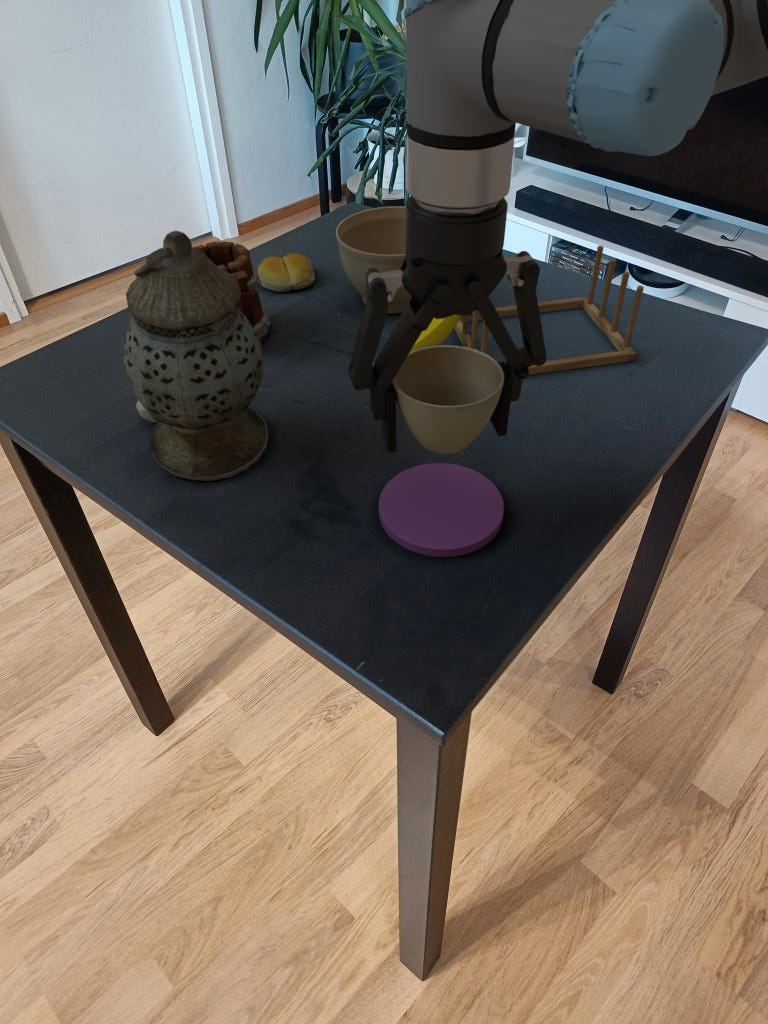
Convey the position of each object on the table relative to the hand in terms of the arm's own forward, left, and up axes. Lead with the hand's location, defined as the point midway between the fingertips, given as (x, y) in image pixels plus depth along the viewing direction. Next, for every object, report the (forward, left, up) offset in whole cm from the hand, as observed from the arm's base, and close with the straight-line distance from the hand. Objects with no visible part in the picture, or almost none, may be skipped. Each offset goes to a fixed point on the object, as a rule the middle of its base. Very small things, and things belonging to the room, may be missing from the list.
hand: (444, 435), depth 68 cm
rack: (+30, -22, -10) cm, 38 cm away
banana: (+29, -7, -9) cm, 31 cm away
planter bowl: (+46, -5, -10) cm, 47 cm away
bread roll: (+56, +10, -10) cm, 58 cm away
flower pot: (0, 0, 0) cm, 0 cm away
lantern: (+17, +24, -10) cm, 31 cm away
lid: (0, 0, -10) cm, 10 cm away
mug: (+40, +19, -10) cm, 45 cm away
